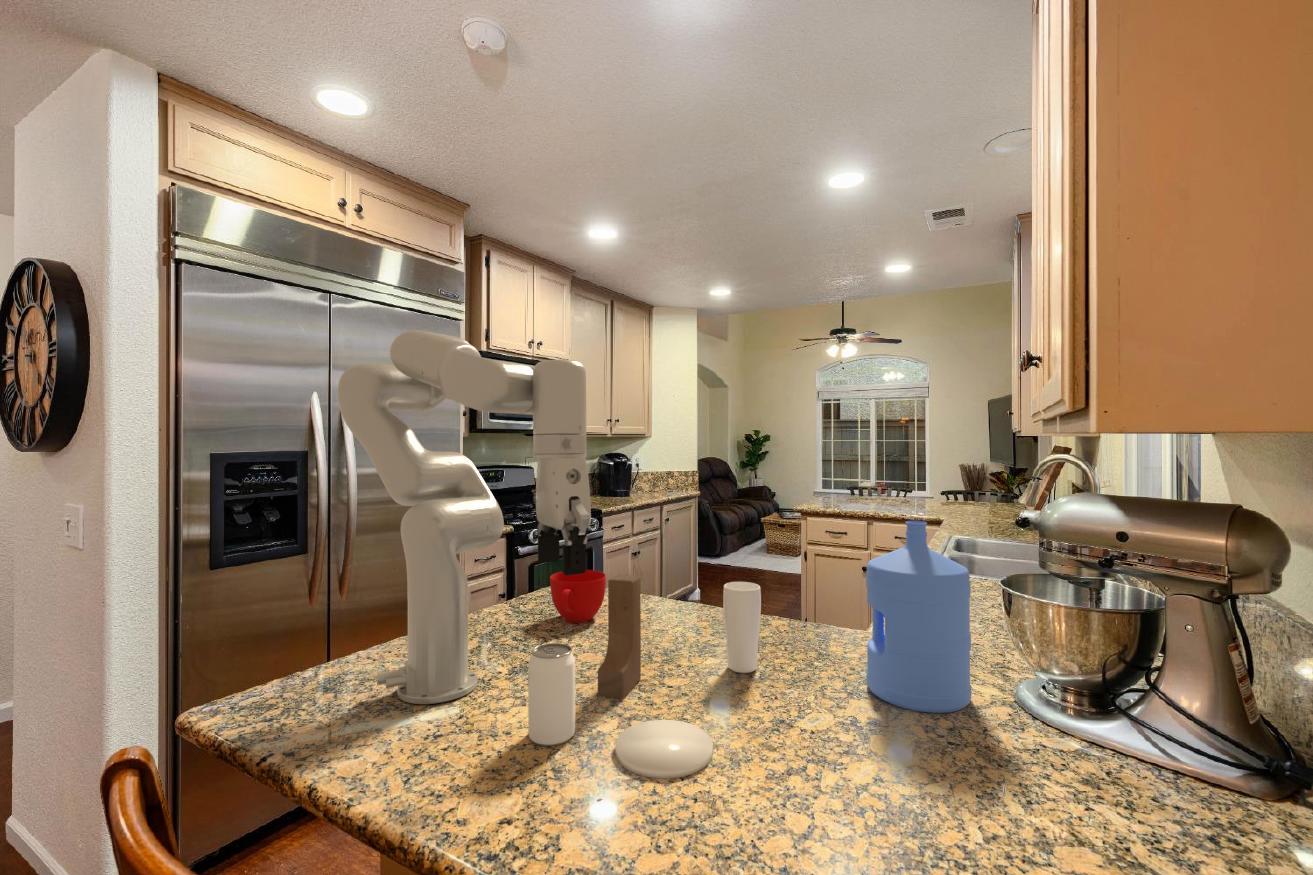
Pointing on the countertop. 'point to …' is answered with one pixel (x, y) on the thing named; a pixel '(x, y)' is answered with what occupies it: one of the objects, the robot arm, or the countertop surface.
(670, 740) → the white dome
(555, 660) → the can
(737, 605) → the drinking glass
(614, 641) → the wooden block
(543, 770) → the countertop surface
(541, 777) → the countertop surface
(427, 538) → the robot arm
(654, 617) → the countertop surface
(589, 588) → the ceramic cup
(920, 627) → the water jug
